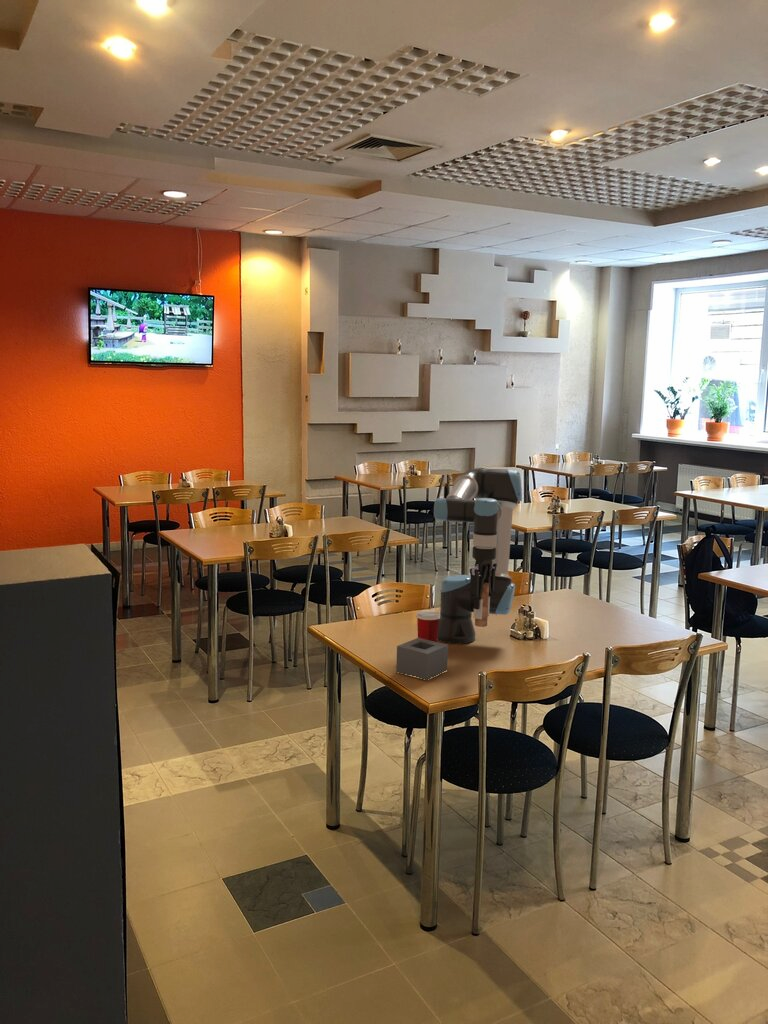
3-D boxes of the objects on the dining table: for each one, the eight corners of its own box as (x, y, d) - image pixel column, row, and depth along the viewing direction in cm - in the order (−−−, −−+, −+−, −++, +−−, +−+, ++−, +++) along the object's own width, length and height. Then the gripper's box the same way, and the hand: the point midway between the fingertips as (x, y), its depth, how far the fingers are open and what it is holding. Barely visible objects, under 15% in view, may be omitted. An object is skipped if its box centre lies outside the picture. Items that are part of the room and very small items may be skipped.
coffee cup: (437, 650, 302) (439, 609, 300) (439, 658, 294) (441, 616, 292) (413, 650, 302) (415, 609, 300) (415, 658, 294) (416, 615, 291)
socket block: (417, 663, 288) (418, 637, 287) (447, 671, 281) (448, 645, 280) (396, 672, 279) (397, 646, 277) (426, 681, 272) (427, 653, 270)
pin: (478, 622, 282) (480, 581, 280) (489, 624, 280) (491, 583, 278) (472, 625, 279) (474, 583, 277) (483, 627, 277) (485, 585, 275)
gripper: (487, 541, 284) (484, 609, 288) (460, 548, 271) (457, 620, 275) (507, 544, 280) (504, 613, 284) (481, 552, 266) (477, 624, 270)
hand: (481, 616), depth 279 cm, fingers closed on pin, 4 cm apart
